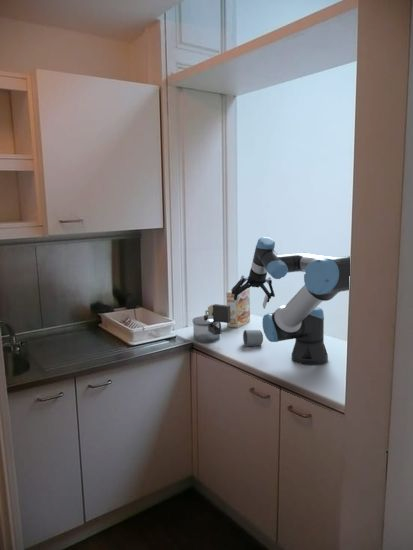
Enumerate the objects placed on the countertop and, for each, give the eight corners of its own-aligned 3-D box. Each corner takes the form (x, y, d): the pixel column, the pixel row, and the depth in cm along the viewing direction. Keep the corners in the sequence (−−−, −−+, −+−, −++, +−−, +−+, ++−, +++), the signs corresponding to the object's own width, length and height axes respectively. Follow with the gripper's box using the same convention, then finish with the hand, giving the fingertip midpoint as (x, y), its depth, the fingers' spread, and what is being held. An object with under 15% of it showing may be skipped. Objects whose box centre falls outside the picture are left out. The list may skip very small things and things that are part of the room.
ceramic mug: (264, 346, 212) (263, 330, 211) (247, 348, 211) (246, 332, 209) (256, 340, 223) (256, 325, 221) (240, 342, 221) (240, 326, 220)
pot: (231, 344, 217) (231, 326, 215) (207, 349, 212) (206, 330, 210) (209, 331, 239) (209, 315, 238) (186, 335, 234) (186, 318, 233)
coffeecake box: (238, 328, 244) (236, 292, 241) (226, 326, 248) (225, 291, 245) (250, 321, 257) (250, 287, 254) (239, 320, 261) (238, 286, 257)
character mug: (208, 332, 238) (207, 308, 236) (203, 329, 245) (202, 305, 242) (227, 329, 242) (226, 306, 240) (221, 326, 249) (221, 303, 247)
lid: (187, 323, 224) (186, 305, 222) (202, 316, 235) (201, 299, 234) (222, 328, 213) (221, 309, 211) (236, 321, 224) (235, 303, 223)
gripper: (284, 266, 205) (274, 302, 218) (230, 262, 202) (223, 298, 214) (288, 276, 199) (276, 312, 212) (232, 272, 196) (224, 309, 208)
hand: (249, 305), depth 213 cm, fingers open, 13 cm apart
